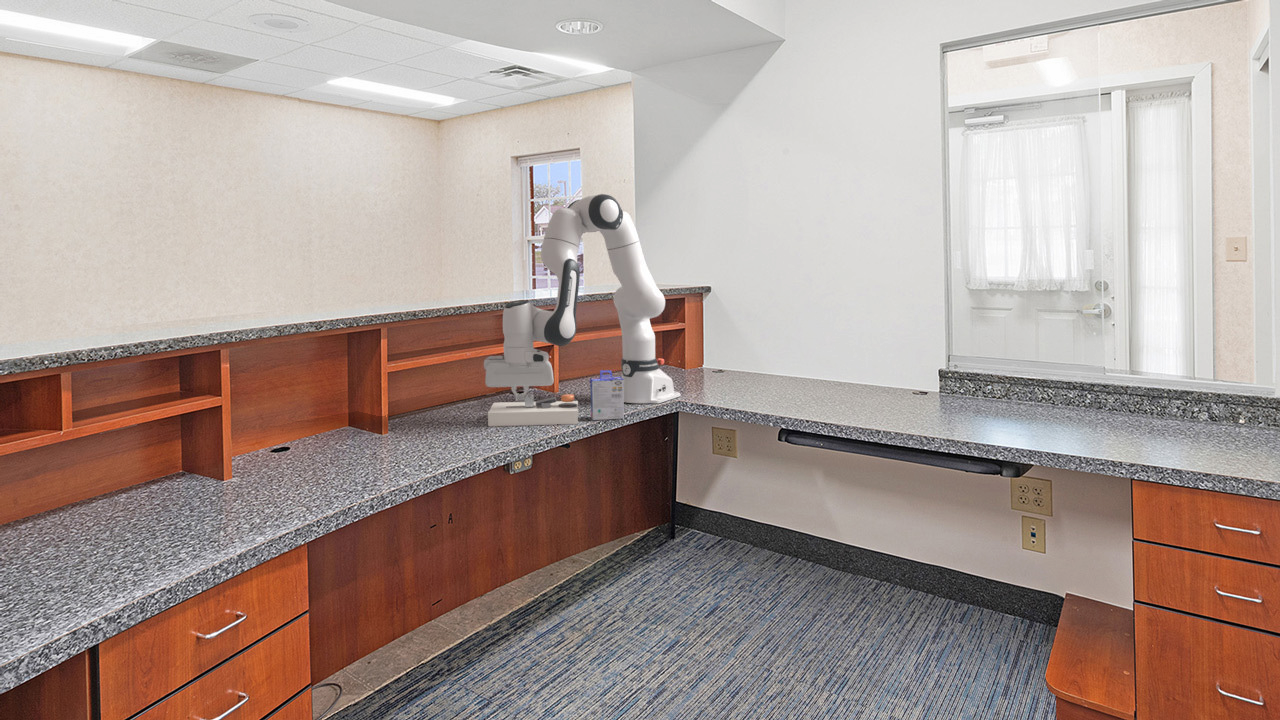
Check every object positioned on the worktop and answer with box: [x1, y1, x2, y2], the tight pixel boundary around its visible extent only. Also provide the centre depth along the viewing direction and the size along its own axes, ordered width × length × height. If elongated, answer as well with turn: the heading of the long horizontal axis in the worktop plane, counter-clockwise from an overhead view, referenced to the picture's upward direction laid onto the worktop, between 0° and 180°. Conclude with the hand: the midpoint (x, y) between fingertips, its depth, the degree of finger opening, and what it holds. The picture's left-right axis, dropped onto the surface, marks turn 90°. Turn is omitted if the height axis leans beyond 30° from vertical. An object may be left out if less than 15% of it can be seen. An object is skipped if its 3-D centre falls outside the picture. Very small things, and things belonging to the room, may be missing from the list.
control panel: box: [487, 400, 579, 427], centre depth 218 cm, size 26×14×6 cm, turn 94°
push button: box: [560, 393, 575, 402], centre depth 218 cm, size 4×4×2 cm
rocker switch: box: [535, 396, 557, 407], centre depth 218 cm, size 6×4×1 cm, turn 93°
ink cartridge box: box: [589, 369, 625, 421], centre depth 219 cm, size 10×6×14 cm, turn 102°
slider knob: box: [524, 392, 535, 407], centre depth 217 cm, size 2×4×3 cm, turn 4°
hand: (520, 400), depth 217 cm, fingers closed
